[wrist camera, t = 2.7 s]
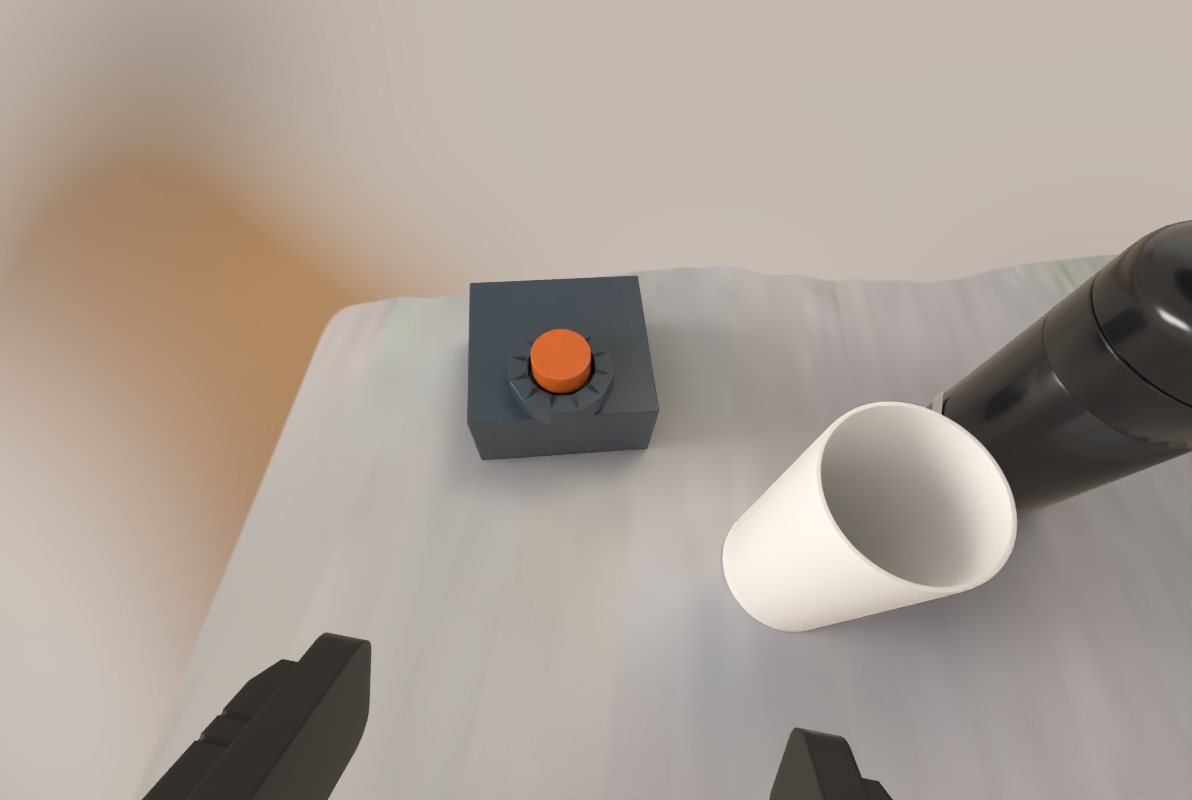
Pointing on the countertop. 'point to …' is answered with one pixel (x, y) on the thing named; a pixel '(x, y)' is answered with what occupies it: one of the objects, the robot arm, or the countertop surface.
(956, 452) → the cup
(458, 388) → the countertop surface
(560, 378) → the button
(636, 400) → the grey button base
